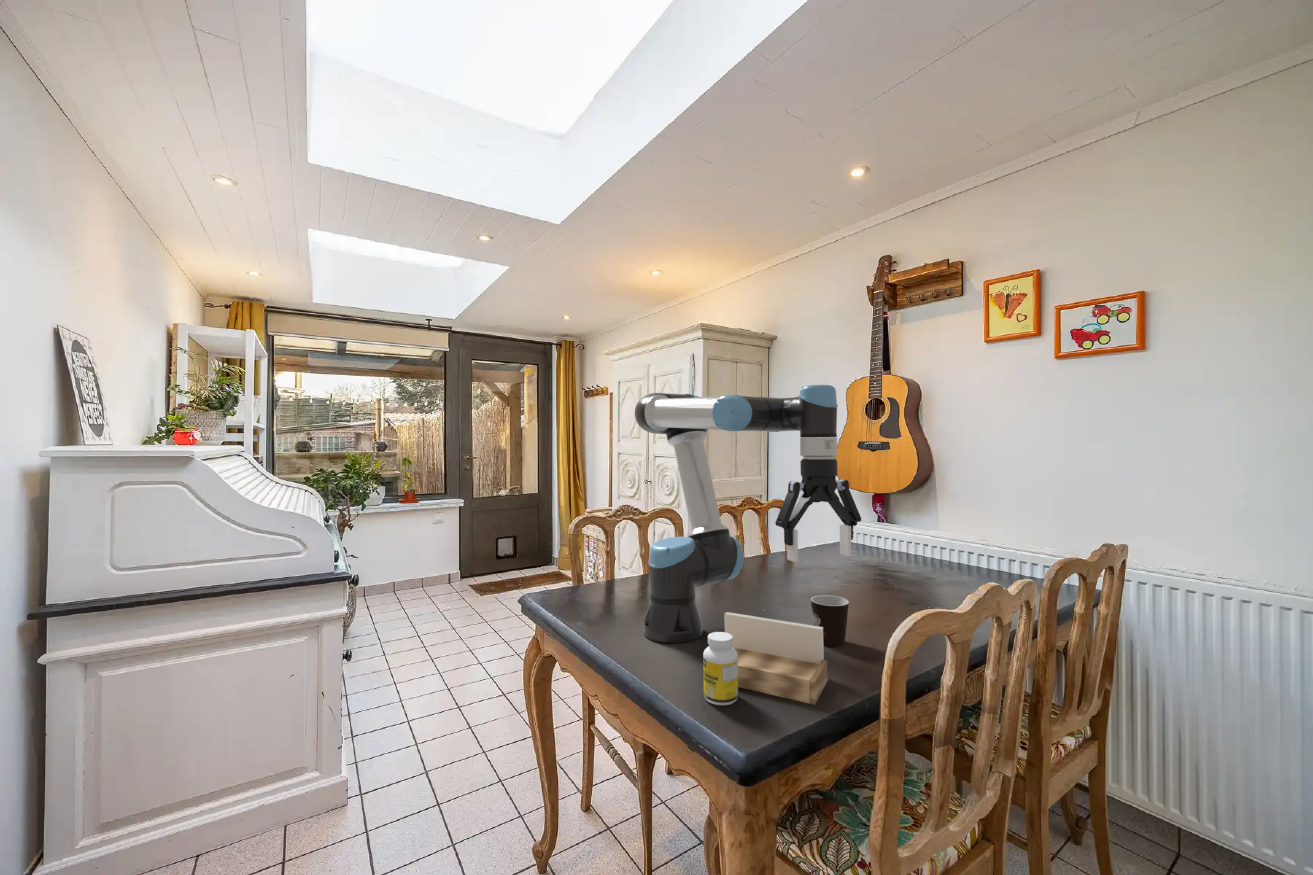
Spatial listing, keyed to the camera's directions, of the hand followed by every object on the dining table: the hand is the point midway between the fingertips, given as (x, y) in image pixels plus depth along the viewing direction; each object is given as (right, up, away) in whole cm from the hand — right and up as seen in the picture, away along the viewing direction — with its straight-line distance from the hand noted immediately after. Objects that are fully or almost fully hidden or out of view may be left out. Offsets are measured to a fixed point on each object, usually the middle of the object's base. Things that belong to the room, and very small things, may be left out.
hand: (819, 558), depth 109 cm
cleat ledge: (-13, -23, -5) cm, 27 cm away
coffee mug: (+7, -24, +15) cm, 29 cm away
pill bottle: (-23, -24, -13) cm, 35 cm away
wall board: (-10, -23, 0) cm, 25 cm away
